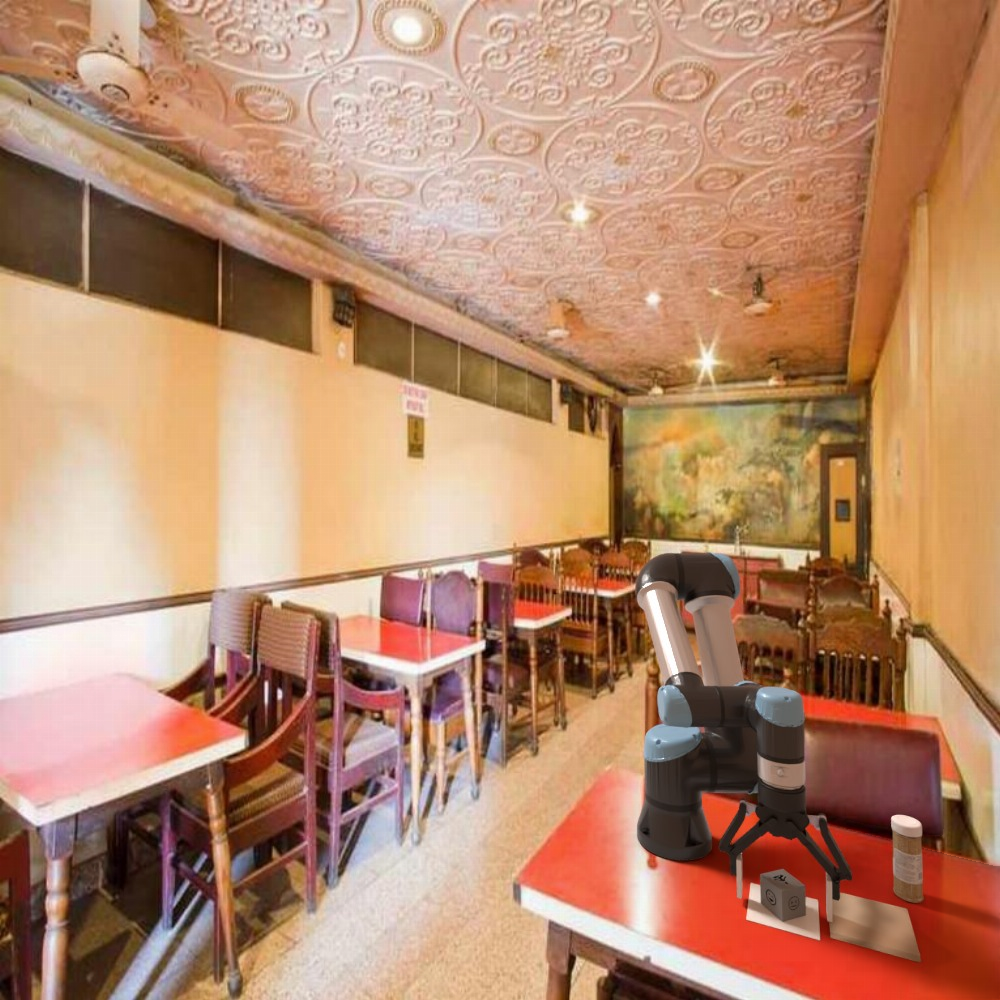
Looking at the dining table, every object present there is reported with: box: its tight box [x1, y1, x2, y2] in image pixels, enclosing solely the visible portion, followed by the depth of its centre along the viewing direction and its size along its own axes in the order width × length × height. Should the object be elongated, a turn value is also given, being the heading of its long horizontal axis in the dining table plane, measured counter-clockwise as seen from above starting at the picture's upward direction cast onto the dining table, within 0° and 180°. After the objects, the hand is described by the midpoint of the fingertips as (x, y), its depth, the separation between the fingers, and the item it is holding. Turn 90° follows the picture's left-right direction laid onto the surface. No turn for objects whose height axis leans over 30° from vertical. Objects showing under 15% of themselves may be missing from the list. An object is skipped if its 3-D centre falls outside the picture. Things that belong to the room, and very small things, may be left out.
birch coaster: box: [828, 891, 922, 963], centre depth 97 cm, size 12×12×1 cm
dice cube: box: [759, 868, 807, 922], centre depth 102 cm, size 5×5×5 cm
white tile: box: [745, 882, 821, 941], centre depth 102 cm, size 11×11×1 cm
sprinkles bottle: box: [890, 814, 925, 904], centre depth 105 cm, size 5×5×13 cm
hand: (783, 906), depth 101 cm, fingers open, 13 cm apart
